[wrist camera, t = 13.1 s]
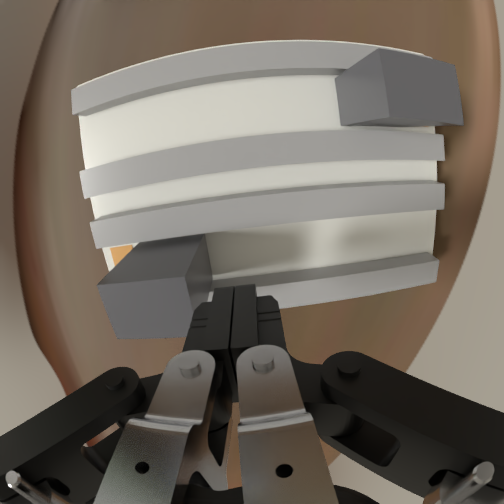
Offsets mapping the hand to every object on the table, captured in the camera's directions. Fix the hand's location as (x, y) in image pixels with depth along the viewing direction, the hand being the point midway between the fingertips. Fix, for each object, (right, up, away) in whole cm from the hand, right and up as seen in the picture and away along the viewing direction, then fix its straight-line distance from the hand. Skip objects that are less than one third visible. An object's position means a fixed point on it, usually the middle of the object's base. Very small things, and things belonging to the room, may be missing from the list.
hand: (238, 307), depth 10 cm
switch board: (+2, +7, +6) cm, 9 cm away
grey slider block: (-4, +2, +6) cm, 7 cm away
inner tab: (+7, +10, +3) cm, 13 cm away
